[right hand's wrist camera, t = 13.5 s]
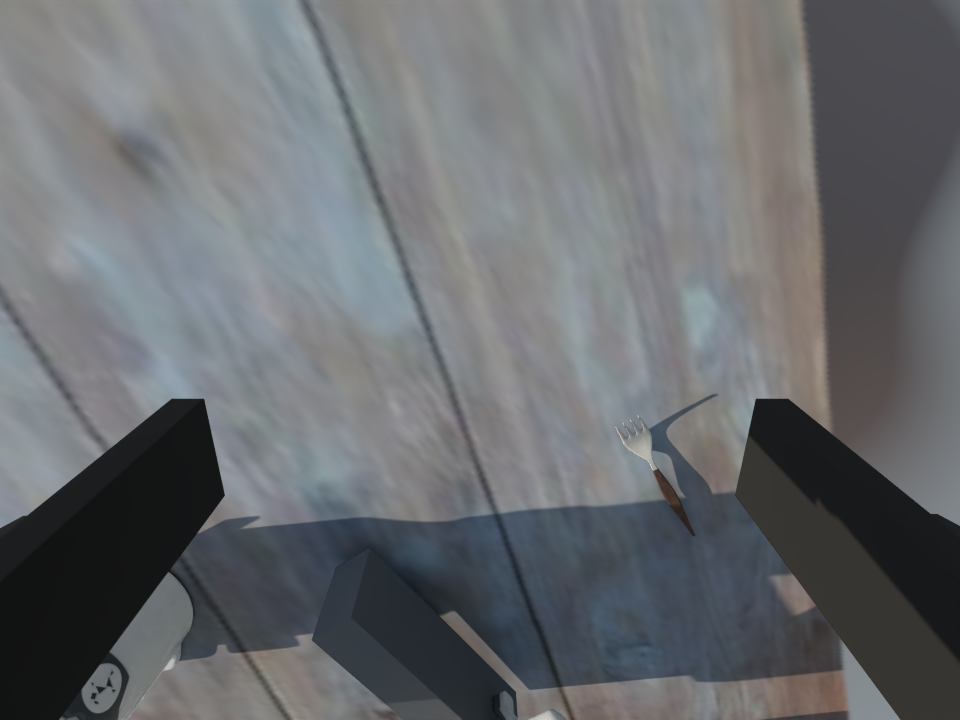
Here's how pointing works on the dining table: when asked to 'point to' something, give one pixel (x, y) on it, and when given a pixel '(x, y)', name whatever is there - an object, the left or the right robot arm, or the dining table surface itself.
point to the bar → (403, 646)
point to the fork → (653, 465)
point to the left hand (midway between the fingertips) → (480, 707)
